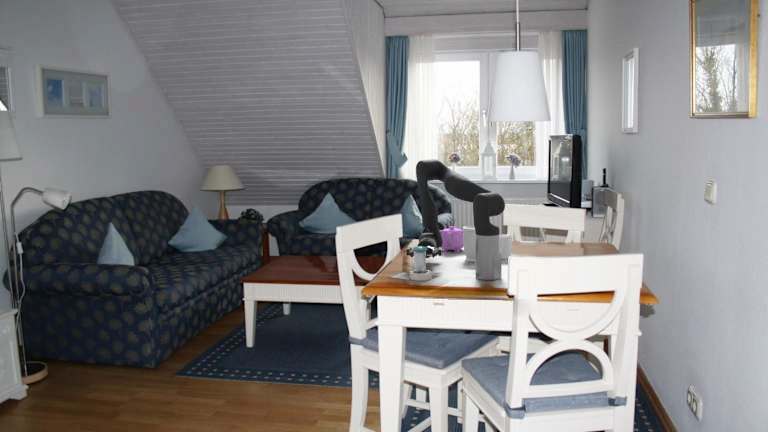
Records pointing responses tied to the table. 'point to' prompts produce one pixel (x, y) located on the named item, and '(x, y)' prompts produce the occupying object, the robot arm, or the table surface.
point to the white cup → (505, 245)
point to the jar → (469, 243)
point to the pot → (452, 239)
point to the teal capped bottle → (419, 259)
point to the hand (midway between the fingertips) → (422, 254)
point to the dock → (415, 276)
